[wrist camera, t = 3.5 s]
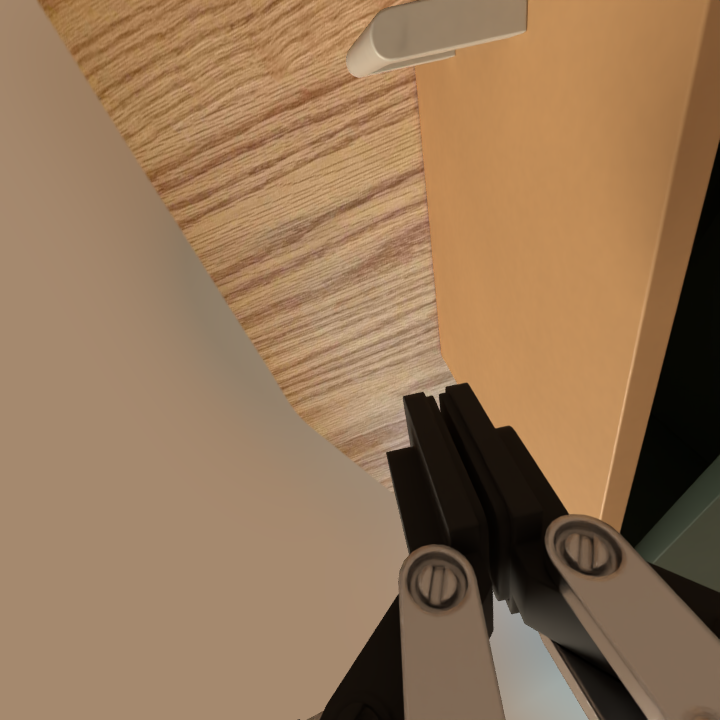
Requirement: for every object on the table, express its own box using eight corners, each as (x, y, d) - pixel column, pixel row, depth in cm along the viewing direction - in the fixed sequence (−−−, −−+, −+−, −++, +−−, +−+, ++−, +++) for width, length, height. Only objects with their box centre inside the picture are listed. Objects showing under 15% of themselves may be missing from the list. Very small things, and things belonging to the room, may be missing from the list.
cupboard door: (388, 366, 40) (474, 633, 20) (327, 25, 26) (411, -259, 6) (451, 352, 40) (602, 604, 20) (424, 4, 26) (848, -353, 6)
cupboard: (452, 354, 40) (607, 610, 20) (592, 22, 27) (1422, -221, 7) (606, 380, 44) (866, 616, 24) (789, 102, 31) (1675, 94, 11)
